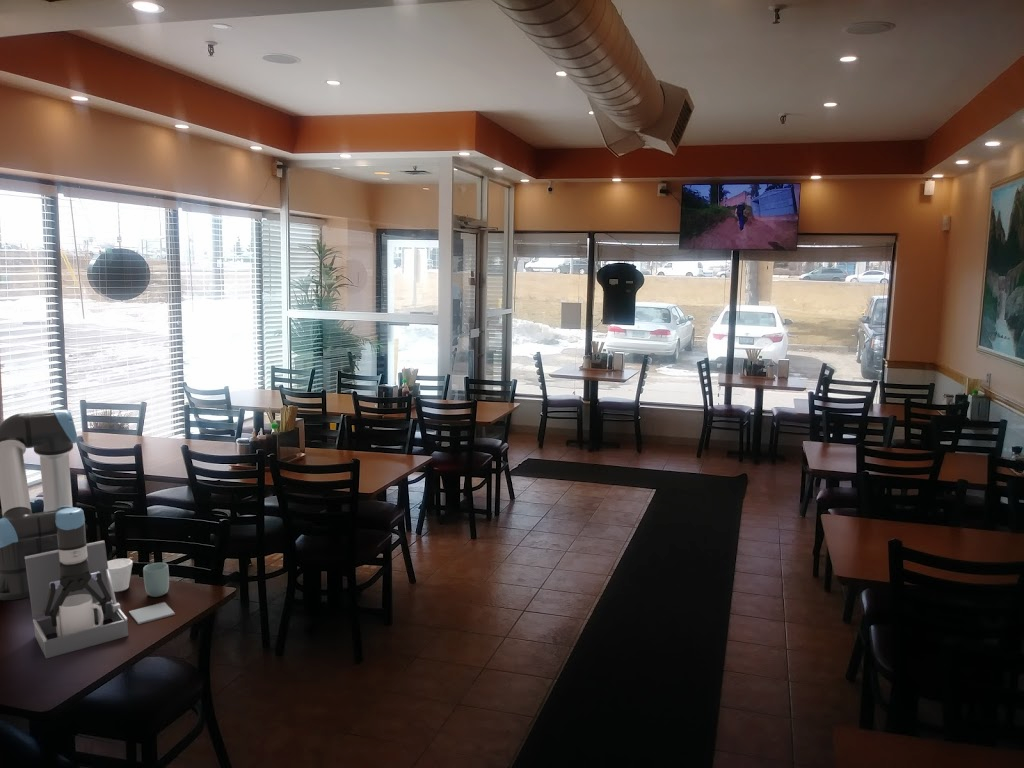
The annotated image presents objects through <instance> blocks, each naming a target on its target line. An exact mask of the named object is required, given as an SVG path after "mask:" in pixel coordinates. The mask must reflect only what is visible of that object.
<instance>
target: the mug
mask: <svg viewBox="0 0 1024 768" xmlns="http://www.w3.org/2000/svg"><path fill="white" fill-rule="evenodd" d="M94 608H97V609H98V610H99V611H100V614H101V621H100V623H99V624H96V622H95V620H94V610H93V609H94ZM58 615H59V619H60V629H61V636H64V635H68V634H72V633H76V632H79V631H83V630H87V629H91V628H95V627H98V626H101V625H102V623H103V624H104V620H103V619H104V617H103V611H102V609H101V607H99V606H98V605H97V604H95V603H93V599H92V596H91V595H88V594H77V595H72V596H68V597H66V598H65V600H64V602H63V604H62V606H59V611H58Z"/></svg>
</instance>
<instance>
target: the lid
mask: <svg viewBox="0 0 1024 768" xmlns="http://www.w3.org/2000/svg"><path fill="white" fill-rule="evenodd" d="M87 554H88V557H87V559H88V564H89V572H90V574H91V573H95V572H96V571H99V572H100V573H101V576H102V581H103V583H104V585H105V587H106V589H107V591H108V593H109V595H110V597H111V593H110V589H109V584H108V580H107V576H106V571H105V570H106V569H108V563H107V562H108V557H107V549H106V543H105V540H100V541H95V542H89V543H87ZM25 562H26V569H27V577H28V585H29V592H30V597H29V598H30V607H31V614H32V618H33V619H36V618H39V617H43V616H45V615H44V613H43V611H44V607H45V603H46V600H47V596H48V593H49V589H50V588H49V582H50V581H53V582H55V581H59V580H60V578H61V573H60V563H61V562H60V561H59V551H58V550H55V551H50V552H45V553H40V554H35V555H30V556H25ZM88 584H89V585H90V586H91V588H92V589H93V590H94V591H95V592H96V593H97V594H98V595H99V596H100V597H101V598H102V599H103V598H104V597H105V596H104V594H103V592H102V590H101V589H100V587H99V585H98V583H97V581H96V580H94V579H93V578H92V577H91V579H90V581H89V582H88ZM62 589H63V586H62V585H61V584H60V585H59V586H58V588H57V589H56V592H55V596H54V599H53V603H52V606H51V610H52V608H53V606H54V604H55V603H56V601H57V599H58V597H59V596H60V594H61V591H62ZM77 594H88V595H91V596H92V599H93V603H96V602H99V601H98V600H97V599H96V598H95V597H94V596H93V595H92V594H91V593H90V592H89V591H87V590H86V589H85V588H84V589H83V590H77V591H74V592H69V594H68V596H72V595H77ZM68 596H67V597H68ZM111 600H112V597H111ZM51 610H50V611H51Z"/></svg>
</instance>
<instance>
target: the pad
mask: <svg viewBox="0 0 1024 768" xmlns="http://www.w3.org/2000/svg"><path fill="white" fill-rule="evenodd" d="M128 613H129V615H130V617H132V619H134V621H135V622H136V623H137V625H141V624H144V623H150V622H152V621H153V622H154V621H157V620H160V619H163V618H167V617H171V616H175V615H176V613H175V612H174V610H173V609H172V608H171V607H170V606H169V604H167V603H166V602H165V601H163V602H159V603H156V604H153V605H148V606H143V607H140V608H136V609H132V610H129V611H128Z"/></svg>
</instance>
